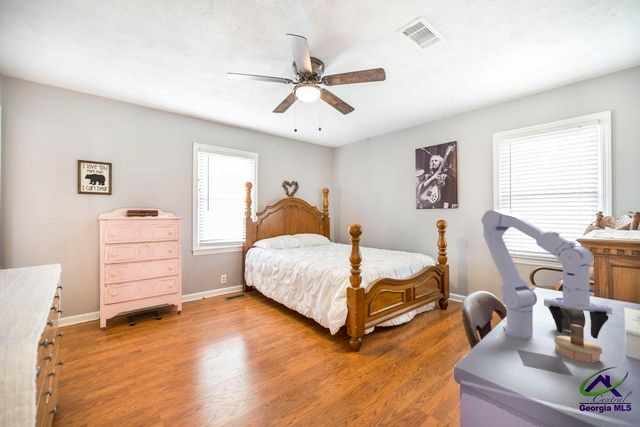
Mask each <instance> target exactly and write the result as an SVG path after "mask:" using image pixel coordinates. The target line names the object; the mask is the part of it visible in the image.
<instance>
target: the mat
mask: <svg viewBox="0 0 640 427" xmlns="http://www.w3.org/2000/svg"><path fill="white" fill-rule="evenodd" d="M516 350H517V353H518V355H519V357H520V359H521V361H522V364H523V366H524V367H529V368H533V369H538V370H544V371H548V372H552V373H557V374H561V375H562V374H563V375H565V376H566V375H567V376H572V377H574V375H573V374H572V372H571V370H570V369H569V368H568V367H567V365H566V364H565V362H564V361H563V359H562V358H561V357H559V356H555V355H551V354H544V353H538V352H533V351H528V350H523V349H519V348H518V349H516Z"/></svg>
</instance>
